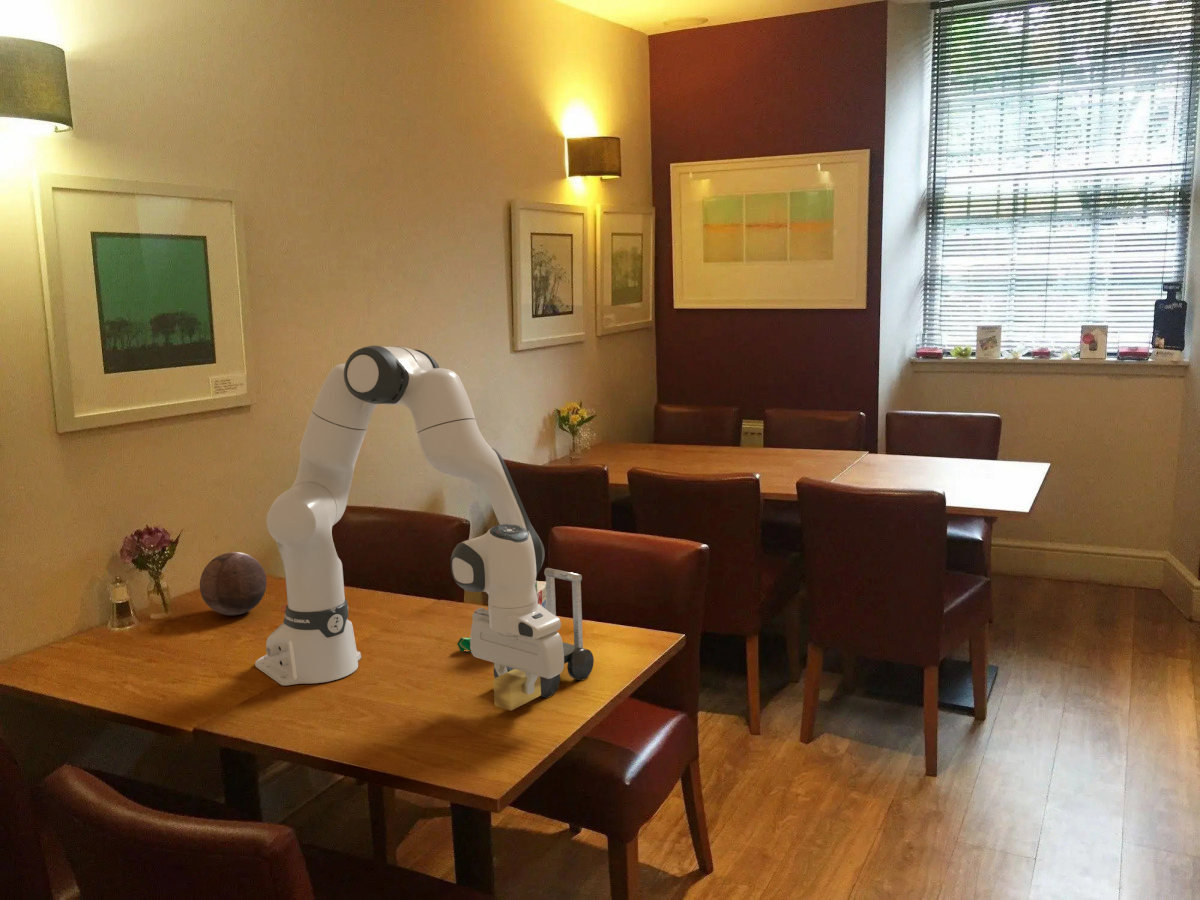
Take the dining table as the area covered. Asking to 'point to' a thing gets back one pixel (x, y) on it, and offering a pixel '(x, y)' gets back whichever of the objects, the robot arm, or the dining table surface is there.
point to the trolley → (574, 654)
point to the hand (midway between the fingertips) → (517, 689)
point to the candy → (464, 644)
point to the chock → (513, 690)
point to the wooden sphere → (233, 583)
